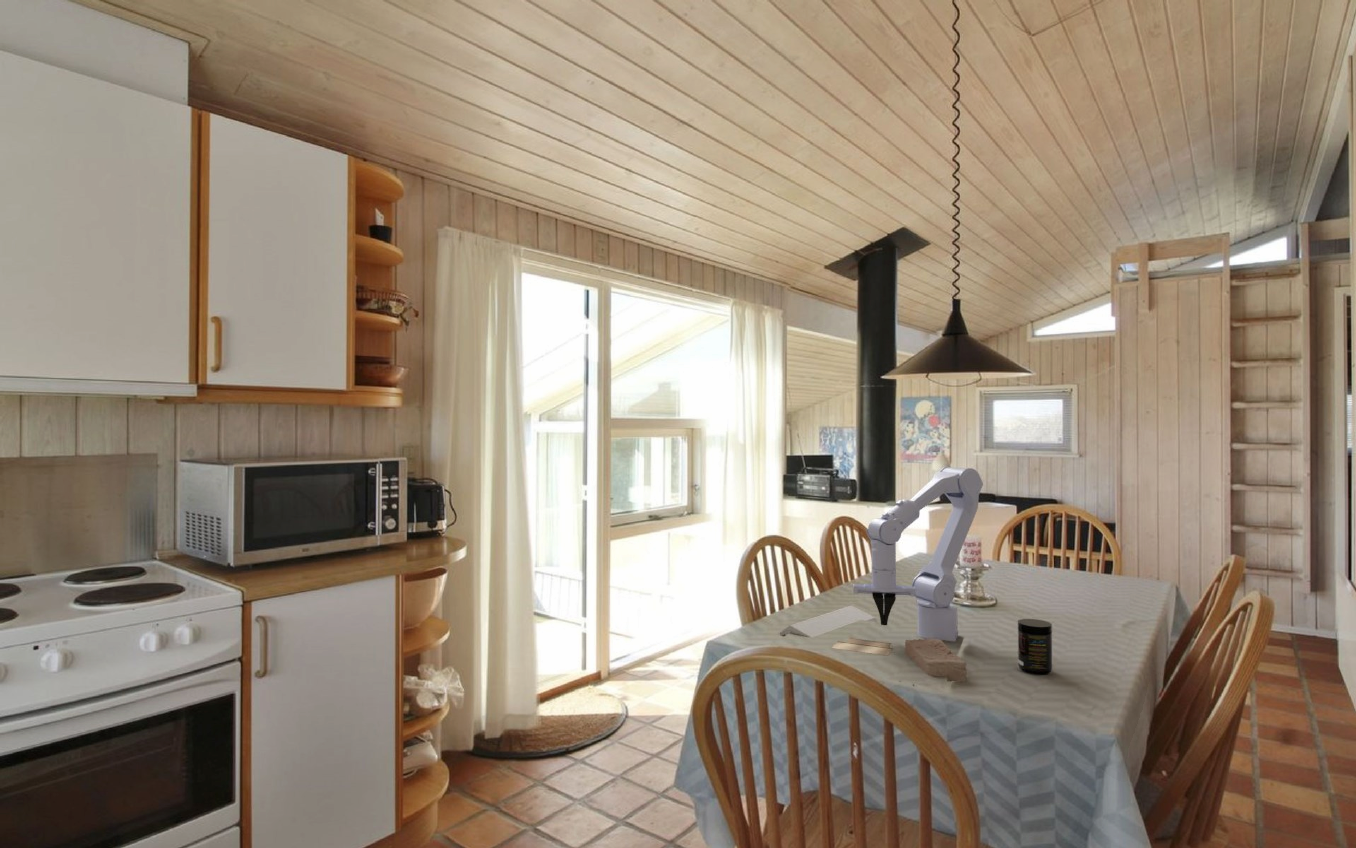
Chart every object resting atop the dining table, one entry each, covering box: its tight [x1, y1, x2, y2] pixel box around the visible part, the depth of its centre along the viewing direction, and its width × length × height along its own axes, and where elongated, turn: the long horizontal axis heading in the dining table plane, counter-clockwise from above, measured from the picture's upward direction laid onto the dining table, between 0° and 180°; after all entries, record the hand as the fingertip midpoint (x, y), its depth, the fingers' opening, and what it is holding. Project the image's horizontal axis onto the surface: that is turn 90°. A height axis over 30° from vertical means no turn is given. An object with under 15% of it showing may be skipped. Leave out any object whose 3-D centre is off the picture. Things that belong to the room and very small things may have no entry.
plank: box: [846, 637, 892, 647], centre depth 176 cm, size 10×7×1 cm
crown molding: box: [778, 605, 878, 638], centre depth 192 cm, size 29×12×4 cm, turn 136°
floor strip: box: [831, 640, 894, 656], centre depth 170 cm, size 13×6×1 cm, turn 63°
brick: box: [904, 638, 967, 682], centre depth 159 cm, size 17×8×5 cm, turn 0°
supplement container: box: [1017, 618, 1053, 676], centre depth 157 cm, size 7×7×10 cm
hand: (883, 624), depth 176 cm, fingers closed
